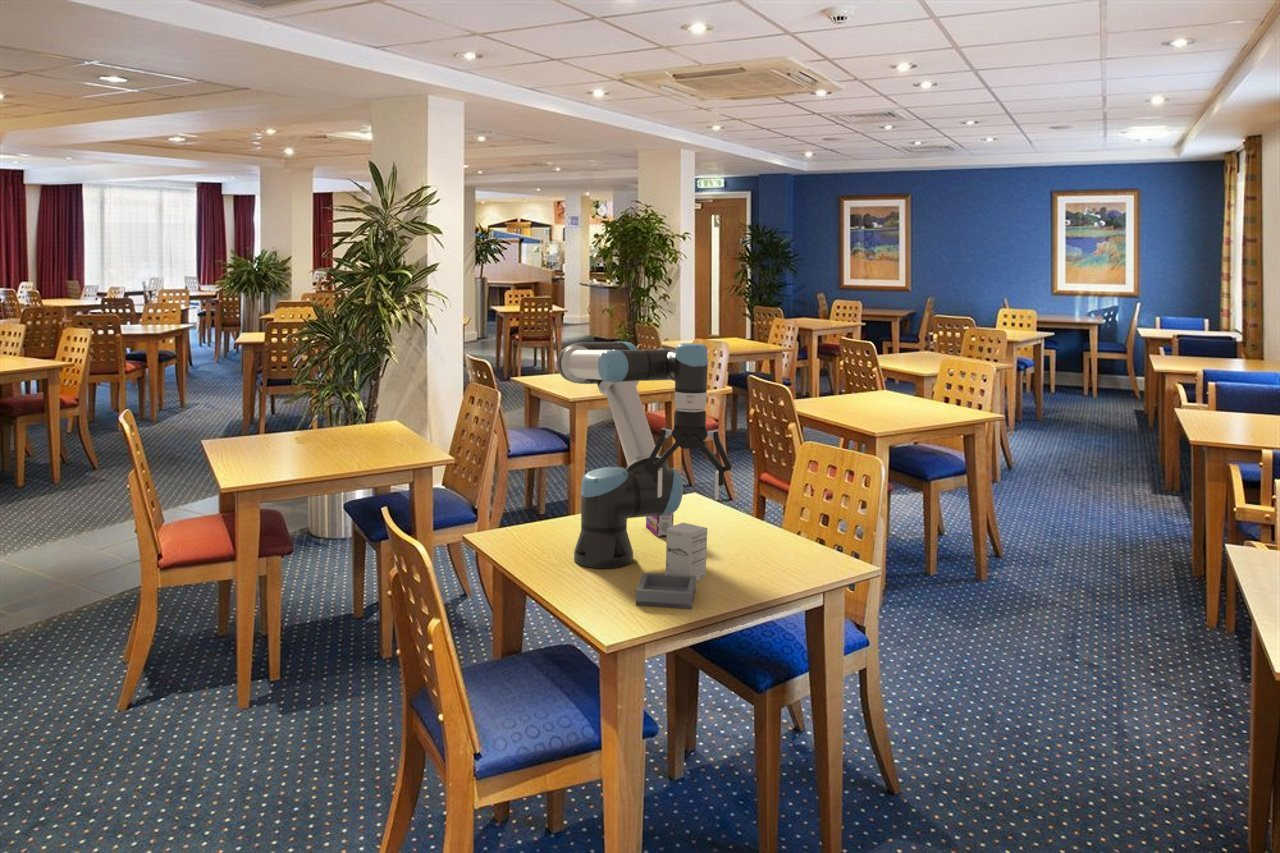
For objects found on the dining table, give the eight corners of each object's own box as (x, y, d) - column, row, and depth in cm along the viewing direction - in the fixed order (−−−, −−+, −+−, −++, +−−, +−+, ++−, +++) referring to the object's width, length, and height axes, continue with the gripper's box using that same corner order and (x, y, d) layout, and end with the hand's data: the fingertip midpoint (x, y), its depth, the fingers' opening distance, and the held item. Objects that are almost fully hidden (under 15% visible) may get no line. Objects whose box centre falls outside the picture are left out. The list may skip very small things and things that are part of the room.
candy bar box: (674, 536, 263) (675, 479, 260) (657, 537, 262) (658, 480, 259) (661, 526, 274) (662, 471, 271) (645, 527, 272) (646, 471, 270)
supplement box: (664, 578, 228) (665, 527, 225) (682, 570, 233) (683, 521, 231) (689, 584, 223) (690, 533, 221) (706, 577, 229) (708, 526, 227)
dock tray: (635, 605, 209) (635, 590, 208) (643, 587, 221) (643, 572, 220) (691, 609, 207) (691, 593, 206) (695, 590, 219) (696, 575, 219)
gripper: (635, 409, 219) (634, 498, 223) (743, 413, 216) (739, 503, 219) (639, 405, 227) (638, 491, 230) (743, 409, 223) (740, 496, 227)
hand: (688, 497), depth 225 cm, fingers open, 13 cm apart
